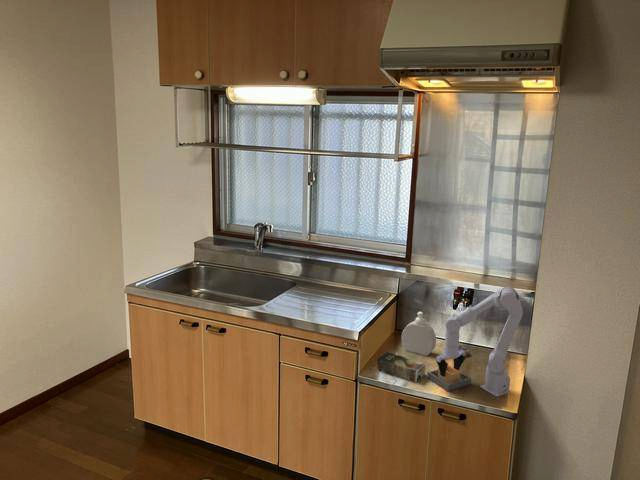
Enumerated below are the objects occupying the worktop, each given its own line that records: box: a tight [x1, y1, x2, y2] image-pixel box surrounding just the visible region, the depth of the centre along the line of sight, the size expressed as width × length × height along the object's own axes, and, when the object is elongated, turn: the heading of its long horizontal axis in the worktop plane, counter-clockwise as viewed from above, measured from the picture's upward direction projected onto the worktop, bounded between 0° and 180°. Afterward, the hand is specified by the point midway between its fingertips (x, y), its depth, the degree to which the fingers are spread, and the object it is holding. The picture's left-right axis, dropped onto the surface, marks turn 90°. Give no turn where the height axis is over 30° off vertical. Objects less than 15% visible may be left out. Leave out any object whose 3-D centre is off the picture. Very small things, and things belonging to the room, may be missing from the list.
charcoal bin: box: [426, 368, 472, 393], centre depth 238 cm, size 13×13×3 cm
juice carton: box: [377, 352, 426, 383], centre depth 245 cm, size 20×10×6 cm, turn 55°
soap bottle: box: [400, 311, 437, 357], centre depth 265 cm, size 16×5×20 cm, turn 58°
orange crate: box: [437, 364, 461, 384], centre depth 238 cm, size 8×5×5 cm, turn 31°
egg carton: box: [442, 343, 470, 357], centre depth 264 cm, size 11×8×4 cm
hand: (449, 373), depth 237 cm, fingers open, 7 cm apart
